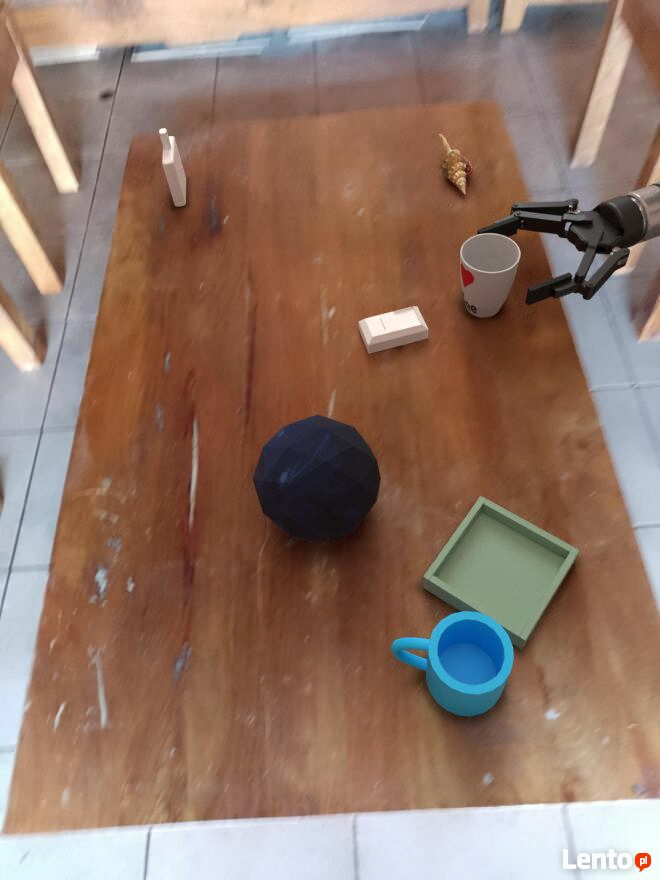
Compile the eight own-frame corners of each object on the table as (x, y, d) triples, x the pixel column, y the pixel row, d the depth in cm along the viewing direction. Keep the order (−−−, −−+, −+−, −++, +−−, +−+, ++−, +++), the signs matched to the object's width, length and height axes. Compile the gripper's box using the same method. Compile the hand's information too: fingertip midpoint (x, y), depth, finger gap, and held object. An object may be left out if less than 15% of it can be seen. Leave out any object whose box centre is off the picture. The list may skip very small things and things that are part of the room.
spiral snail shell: (488, 188, 122) (492, 165, 118) (464, 199, 121) (467, 176, 117) (441, 150, 129) (443, 127, 125) (418, 160, 128) (419, 137, 124)
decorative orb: (232, 552, 80) (300, 490, 70) (233, 442, 89) (294, 373, 79) (338, 574, 87) (414, 520, 77) (329, 470, 96) (397, 410, 86)
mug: (508, 648, 77) (518, 620, 71) (498, 725, 73) (508, 703, 66) (399, 623, 80) (398, 595, 73) (383, 696, 75) (381, 673, 69)
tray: (574, 561, 82) (580, 550, 80) (521, 650, 77) (525, 640, 75) (478, 507, 87) (480, 495, 85) (422, 587, 82) (422, 576, 80)
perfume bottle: (175, 179, 130) (157, 118, 120) (186, 178, 130) (169, 116, 120) (174, 207, 126) (155, 145, 116) (186, 205, 126) (167, 144, 116)
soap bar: (358, 330, 106) (358, 317, 103) (416, 315, 106) (417, 302, 104) (368, 353, 103) (368, 341, 101) (428, 338, 104) (428, 325, 101)
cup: (454, 286, 109) (458, 234, 101) (508, 285, 108) (517, 232, 100) (457, 325, 104) (462, 273, 96) (513, 324, 104) (523, 271, 96)
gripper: (676, 292, 101) (546, 343, 98) (574, 195, 115) (457, 236, 112) (694, 250, 95) (556, 303, 92) (584, 153, 109) (460, 195, 105)
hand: (501, 266), depth 102 cm, fingers open, 13 cm apart
